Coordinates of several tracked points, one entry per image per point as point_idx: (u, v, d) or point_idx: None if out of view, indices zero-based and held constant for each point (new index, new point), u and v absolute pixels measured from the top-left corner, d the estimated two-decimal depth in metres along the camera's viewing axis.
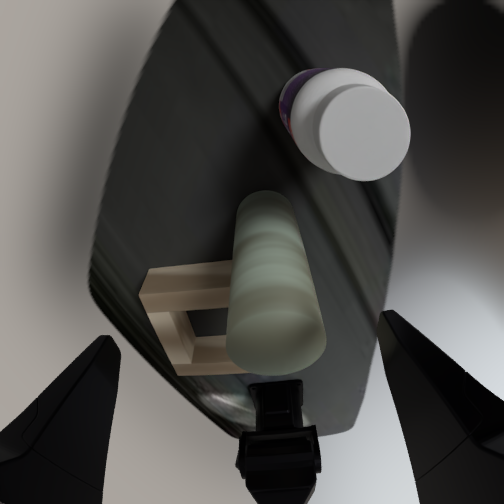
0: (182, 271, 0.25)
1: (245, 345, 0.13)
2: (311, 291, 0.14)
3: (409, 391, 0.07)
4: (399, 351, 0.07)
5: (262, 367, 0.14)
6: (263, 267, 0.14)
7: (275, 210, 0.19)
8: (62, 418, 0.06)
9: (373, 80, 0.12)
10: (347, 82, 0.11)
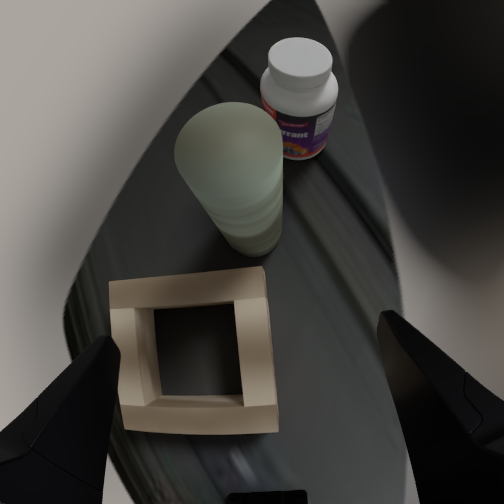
0: None
1: (195, 141, 0.12)
2: None
3: (409, 391, 0.07)
4: (399, 351, 0.07)
5: (210, 176, 0.12)
6: None
7: None
8: (62, 418, 0.06)
9: None
10: None
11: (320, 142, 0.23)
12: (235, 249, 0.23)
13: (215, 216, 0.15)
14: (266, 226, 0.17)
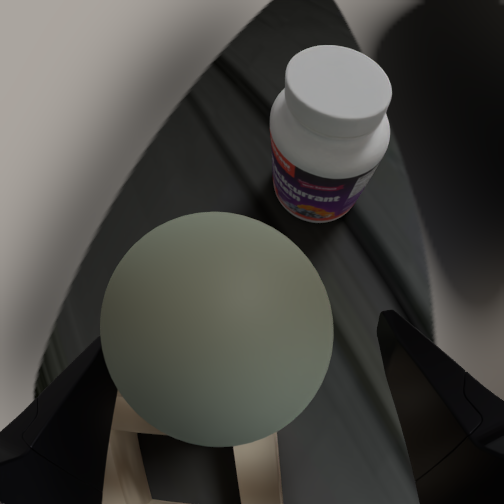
0: None
1: (138, 316, 0.05)
2: None
3: (409, 391, 0.07)
4: (399, 351, 0.07)
5: (174, 405, 0.05)
6: None
7: None
8: (62, 418, 0.06)
9: None
10: None
11: (353, 202, 0.16)
12: None
13: None
14: None
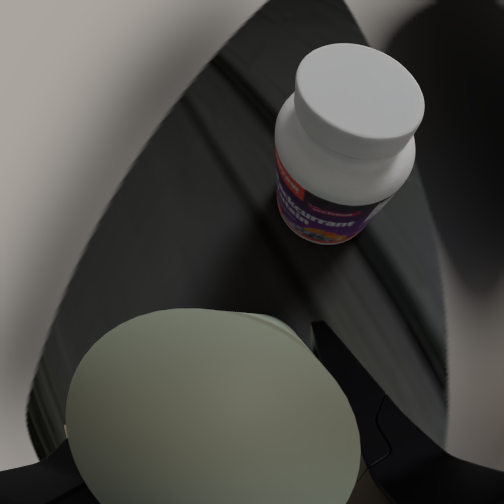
0: None
1: (109, 434, 0.04)
2: None
3: None
4: None
5: None
6: None
7: (266, 315, 0.13)
8: None
9: None
10: None
11: None
12: None
13: None
14: None
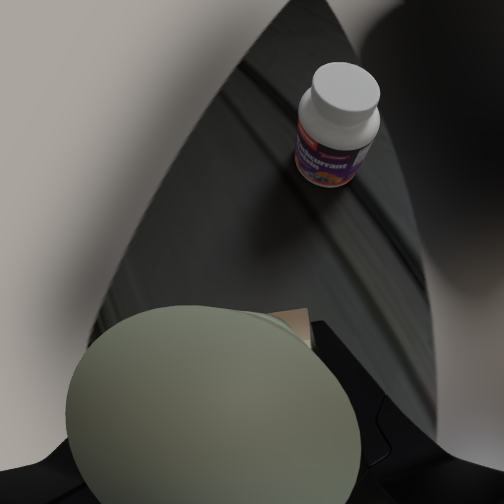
0: None
1: (109, 432, 0.04)
2: None
3: None
4: None
5: None
6: None
7: (266, 314, 0.13)
8: None
9: None
10: None
11: (355, 170, 0.22)
12: None
13: None
14: None
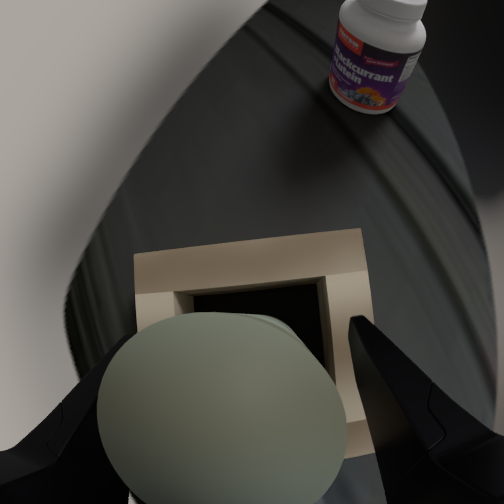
0: None
1: (137, 419, 0.04)
2: None
3: (375, 399, 0.07)
4: (365, 358, 0.07)
5: (181, 500, 0.04)
6: None
7: None
8: (90, 423, 0.06)
9: None
10: None
11: (399, 93, 0.17)
12: None
13: None
14: None
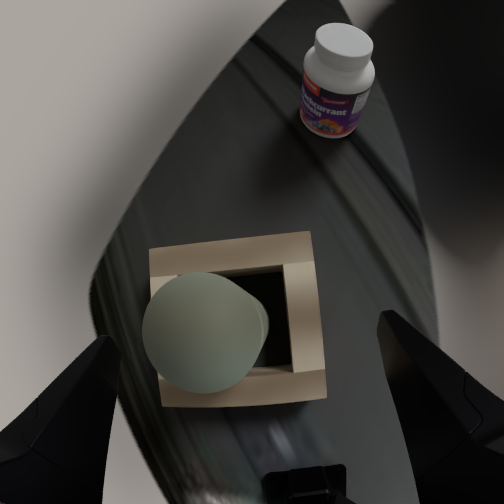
0: None
1: (163, 325, 0.11)
2: (252, 298, 0.13)
3: (409, 391, 0.07)
4: (399, 351, 0.07)
5: (182, 371, 0.10)
6: None
7: None
8: (62, 418, 0.06)
9: None
10: None
11: (354, 121, 0.23)
12: None
13: None
14: None
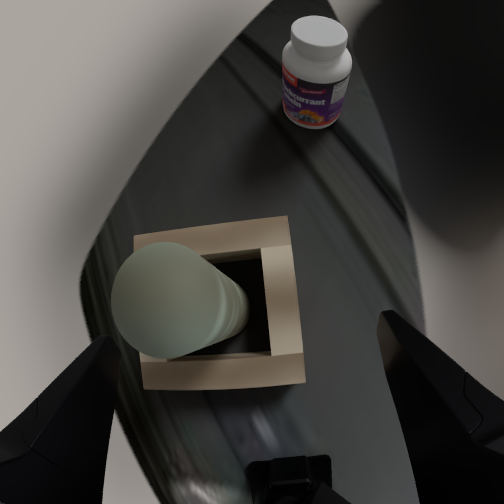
0: None
1: (130, 292, 0.11)
2: (217, 271, 0.13)
3: (409, 391, 0.07)
4: (399, 351, 0.07)
5: (145, 336, 0.11)
6: None
7: None
8: (62, 418, 0.06)
9: None
10: None
11: (335, 111, 0.23)
12: None
13: None
14: (222, 339, 0.16)
